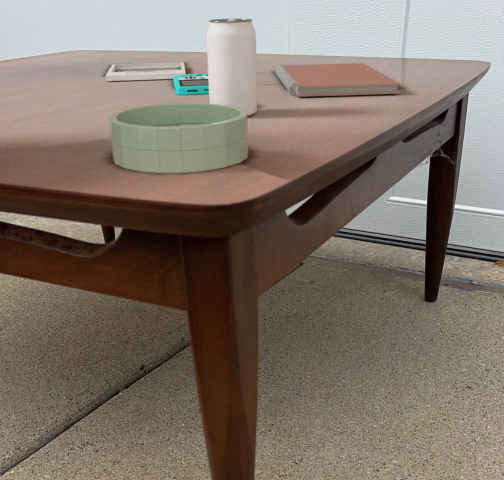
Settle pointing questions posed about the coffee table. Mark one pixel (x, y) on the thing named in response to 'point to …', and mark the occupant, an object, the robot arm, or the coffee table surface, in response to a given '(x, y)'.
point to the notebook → (335, 80)
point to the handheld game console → (191, 84)
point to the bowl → (179, 137)
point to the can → (232, 63)
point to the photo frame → (144, 74)
